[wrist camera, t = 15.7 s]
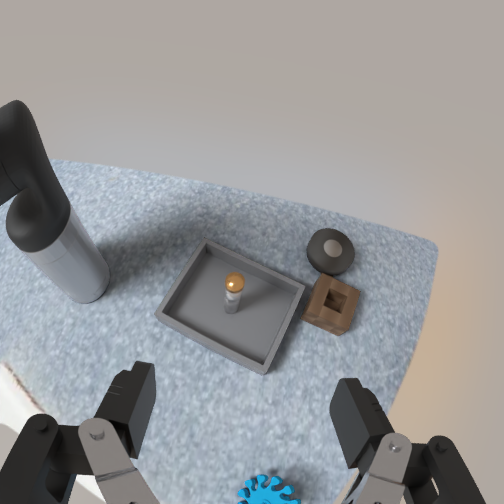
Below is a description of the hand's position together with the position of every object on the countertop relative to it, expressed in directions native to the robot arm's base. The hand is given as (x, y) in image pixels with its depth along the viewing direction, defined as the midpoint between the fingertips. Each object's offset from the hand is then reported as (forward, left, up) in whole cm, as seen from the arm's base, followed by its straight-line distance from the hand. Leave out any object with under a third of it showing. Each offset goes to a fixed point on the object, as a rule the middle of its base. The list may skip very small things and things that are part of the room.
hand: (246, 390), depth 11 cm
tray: (-5, +13, -31) cm, 34 cm away
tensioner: (+7, +24, -31) cm, 40 cm away
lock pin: (-5, +13, -30) cm, 33 cm away
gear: (+12, -13, -31) cm, 36 cm away
